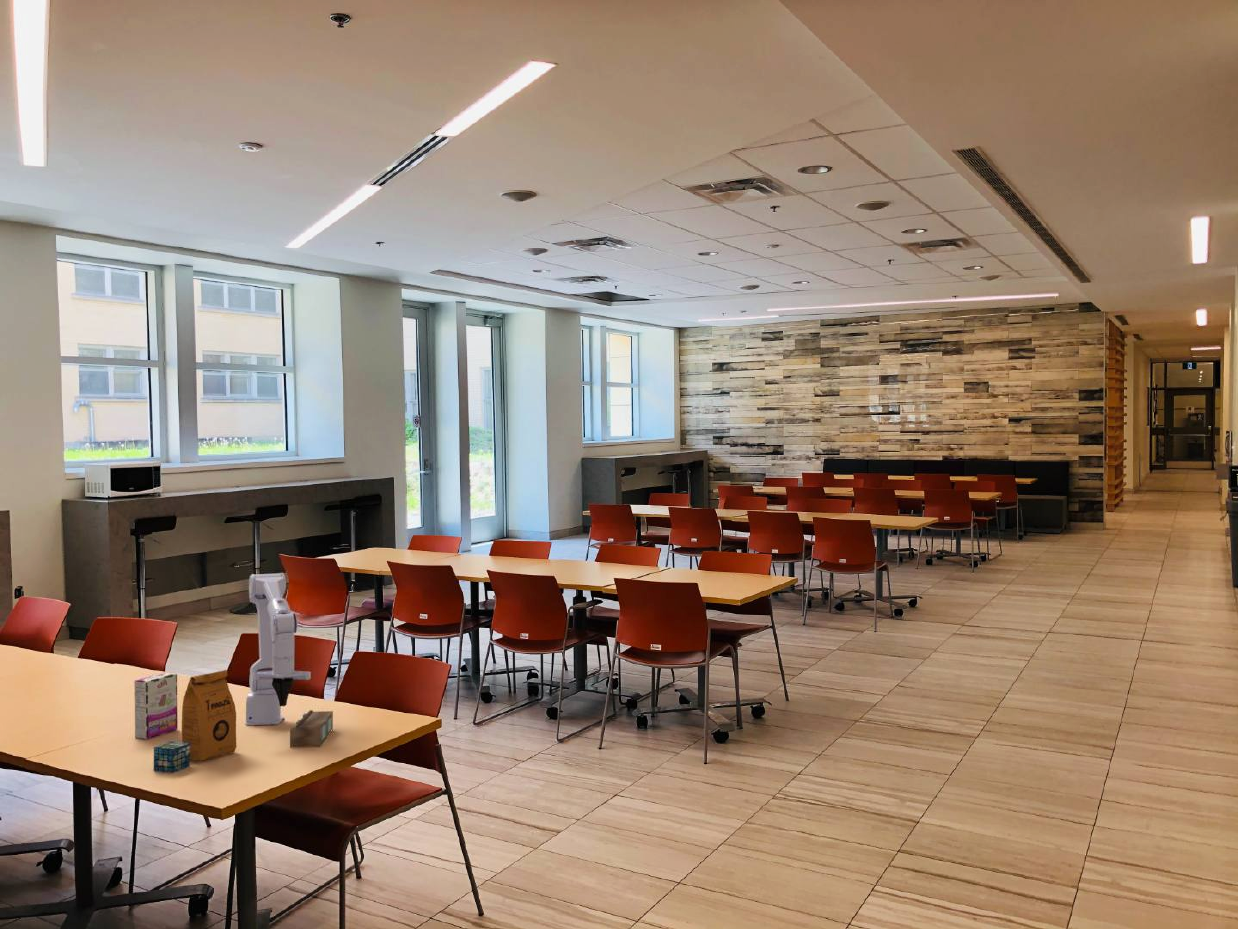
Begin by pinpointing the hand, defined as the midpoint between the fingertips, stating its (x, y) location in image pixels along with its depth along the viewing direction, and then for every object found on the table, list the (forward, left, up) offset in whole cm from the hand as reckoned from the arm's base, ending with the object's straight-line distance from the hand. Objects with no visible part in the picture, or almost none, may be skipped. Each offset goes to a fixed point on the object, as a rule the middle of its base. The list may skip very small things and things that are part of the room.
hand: (283, 705), depth 269 cm
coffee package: (-15, -15, -10) cm, 23 cm away
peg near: (+8, -4, -10) cm, 13 cm away
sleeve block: (+8, 0, -10) cm, 12 cm away
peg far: (+8, +4, -10) cm, 13 cm away
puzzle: (-21, -25, -10) cm, 34 cm away
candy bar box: (-37, +8, -10) cm, 39 cm away
